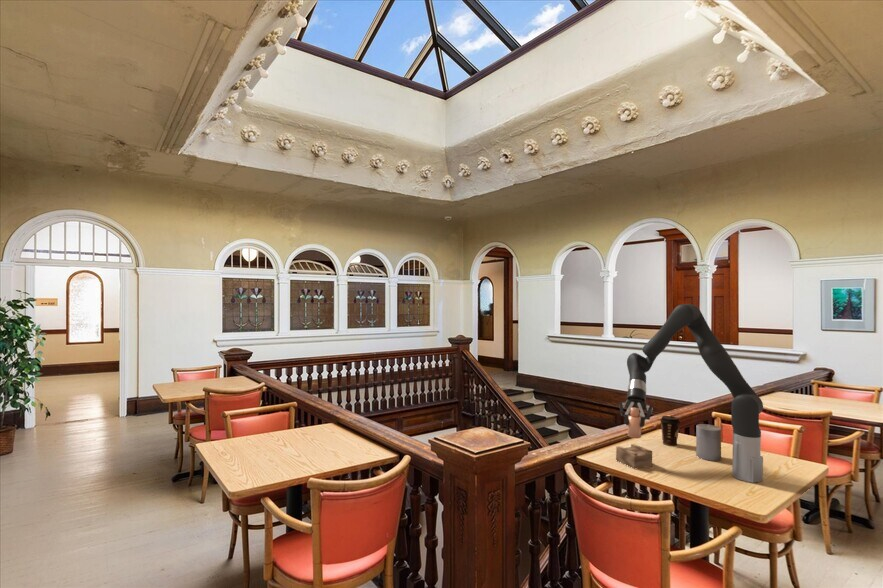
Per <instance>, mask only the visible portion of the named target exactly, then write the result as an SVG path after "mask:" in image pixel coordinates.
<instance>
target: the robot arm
mask: <svg viewBox="0 0 883 588" xmlns="http://www.w3.org/2000/svg"><path fill="white" fill-rule="evenodd" d="M685 326H686V328H688V329H689V331H690V332H691V334H692V335H693V337H694V339H695V341H696V345H697V348H698V351H699V354H700V356H701V358H702V359H703V361H704V362H705V365H706V366H707V368H708V369H709V370H710V371H711V372H712V374H714V376H716V378H718V379H719V380H720V381H721V382H722V383H723V384H724V385H725V386H726V388H727V389H728V391H729V392H730V393H731V395H732V397H733V399H732V402H731V405H730V406H731V407H730V408H731V409H730V410H731V412H730V413H731V416H730V417H731V427H732V459H731V460H732V463H731V464H732V469H731V470H732V471H731V473H732V474H731V476H732V477H734V479H737V480H740V481H743V482H746V483H747V482H748V483H752V484H754V483H760V482H763V481H764V479H763V476H764V457H763V456H762V455H761V449H762V447H761V446H762V445H761V444H762V441H761V440H762V438H761V437H762V430H761V428H760V414H761V413H762V412H763V410H764V404H763V400H762V399H761V397H760V396H759V395H758V394H757V393H756V391H754V389H753V388H752V386H750V384H749V383H748V382H747V381H746V379H745V378H744V377H743V375H742V372H740V370H739V368H738V367H737V366H736V364H735V362H734V360H733V359H732V358H731V356H730V355H729V353H728V352H727V350H726V348H725V347H724V346H723V344H722V343H721V342H720V341H719V339H718V337H717V336H716V335H715V334H714V332H713V331H712V330H711V328H710V326H709V325H708V322H707V321H706V319H705V317H704V315H703V313H702V311H701V309H700V308H699V307H698V306H696V305H694V304H691V303H683V304H678V305H677V306H676V307H675V308H674V309H673V310H672V312H671V313H670V314H669V316H668V317H667V320H666V321H665V322H664V324H663V325H662V326H661V327H660V329H659V330H658V331H657V332H656V333H655V334H654V335H653V336H652V337H651V338H650V339H649V340H648V341H647V343H645V345H644V346H643V347H642V349H641V350H642V352H643V354H644V355H645V356H646V357H644V356H643V355H641V354H639V353H637V352H632V353H630V354H629V355H628V357H627V358H626V359H627V360H626V366H627V370H628V374H629V381H628V385H627V386H628V387H627V395H626V398H627V399H626V401H625V402H622V401H618V407H619V411H620V412H619V413H620V416H621V417H624V420H623V421H624V422H623V423H624V424H625V425H626V426H628V415H630V412H631V407H635V408H639V416H640V417H641V429H642V428H643V427H645V426H646V425H645V421H646V420H647V421H648V420H651V417H652V413H653V410H654V408H653V407H654V406H653V405H652V404H650V405H648V404H647V403H646V400H647V399H646V398H647V375H646V373H648V372H649V371H650V370H651V368H652V366H653V364H654V362H655V361H656V359H657V357H658V356H659V355H660V354H661V353H662V352H663V351H664V350H665V349H666V348H667V346H668V345H669V343H670V342H671V341H672V339H673V337H674V336H675V335H676V334H677V333H678V332H679V331H680V330H682V329H683V328H684V327H685ZM625 407H626V408H627V409H626V411H624V409H625ZM645 409H646V410H647V411H646V414H645V413H644V411H645Z"/></svg>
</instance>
